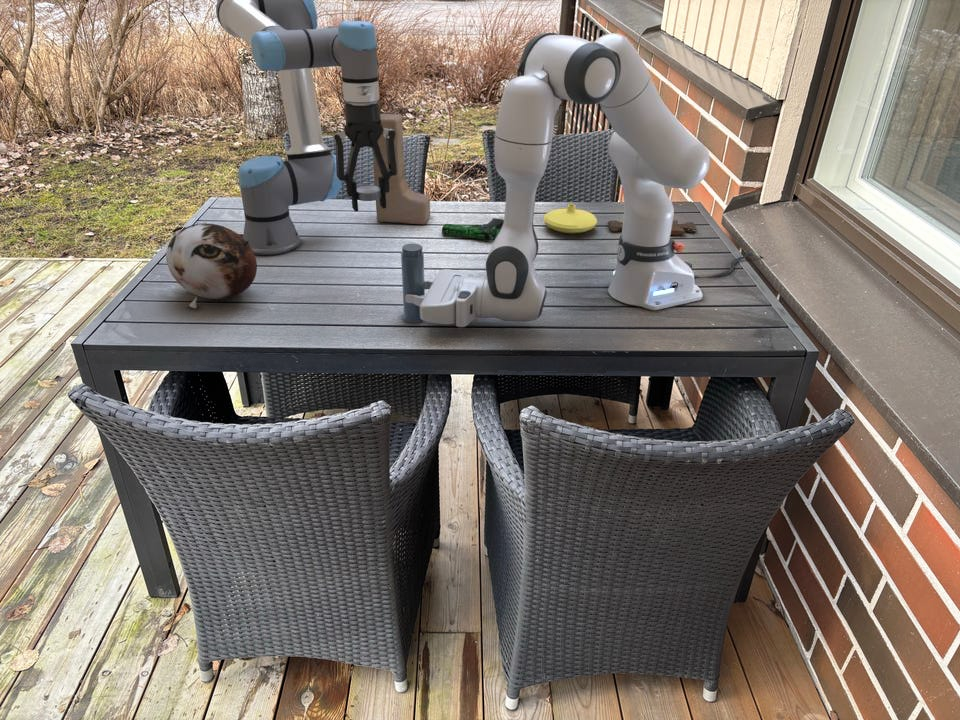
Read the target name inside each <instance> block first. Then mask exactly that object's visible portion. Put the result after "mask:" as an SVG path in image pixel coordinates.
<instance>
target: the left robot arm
mask: <svg viewBox="0 0 960 720" xmlns="http://www.w3.org/2000/svg"><path fill="white" fill-rule="evenodd" d="M215 14H216V18H217V22H218V23H219V25H220V27H221V28H222V29H223V30H224V31H225V32H226V33H228V34H229V35H230V36H232V37H234V38H237V39H241V40H242V41H244V43H246V44H247V45H248V46H250V48H251V54H252V58H253V61H254V63H255V65H256V68H257V69H259V70H260V71H262V72H275V73H276V72H277V74H278V81H279V86H280V91H281V97H282V103H283V107H284V108H283V109H284V113H285V120H286V125H287V131H288V136H289V142H290V147H289V149H288V150H287V152H286V157H287V160H283V158H282V157H281V156H279V155H262V156H258V157H253V158H250V159H248V160H245V161H244V162H243V163H241V165H240V166H239V167H238V170H237V174H238V186H239V190H240V196H241V201H242V208H243V212H244V213H243V215H244V219H245V220H244V226H243V228H244V229H243V233H242V234H239V235H240V236H241V237H243V238H244V239H245V240H246V241H249V242H248V244H249V245H250V247H251V248H252V250H253V252H254V254H255V256H256V255H257V256H275V255H281V254H282V255H283V254H285V253H289V252H291V251H293V250H296V249H297V248H298V247H299V246H300V244H301V241H300V235H299V233H298V231H297V229H296V225H295V224H294V223H293V220H292V218H291V216H290V206H296V205H303V204H309V203H315V202H324V201H326V200H333V199H334V198H336V197H337V196H339V194H340V192H341V189H342V183H343V182H345V191H346V195H347V197H351V207H352V209H353V211H354V212H355V213H356V212H359V202H358V201H359V200H358V199H357V188H358V187H357V181H355V180H354V175H355V171H356V167H357V161H358V157H359V154H360V151H361V149H363V148H371V150H372V154H373V153H374V156H375V158H376V161H377V164H378V166H379V169H380V172H381V175H382V177H378V179H379V187H380V188H381V192H382V197H381V198H380V205H381V207H382V208H386V194H385V193H388V192H389V190H390V189H389V179H390V177H391V176H393V175H394V176H395V175H396V174H397V169H396V159H395V149H394V138H395V134H396V133H395V131H394V130H393V129H391V128H389V129H386V128H383V126H382V124H381V115H380V114H381V105H380V103H379V102H378V101H379V100H380V86H379V84H380V83H379V67H378V65H379V64H378V40H377V35H376V27H375V25H374V23H373V22H371V21H366V20H365V21H364V20H348V21H347V20H344V21H341V22H340V23H338V25H336V26H333V25H332V26H326V27H324V28H318V12H317V8H316V4H315V1H314V0H217V1H216V4H215ZM331 67H332V68H333V67H340V70H341V71H340V72H341V81H342V94H343V95H342V96H343V100H344V101H345V103H344V104H343V108H344V118H345V119H344V120H345V125H344V128H343V130H342V131H339V132H332V135H331V136H332V139H333V141H334V145H335V154H334V153H332V151H331V147H329V146H328V145H327V144H325V142H324V138H323V132H322V125H321V120H320V114H319V107H318V101H317V95H316V87H315V83H314V77H313V70H312V69H318V68H331ZM382 133H383V134H384V137H385V138H386V148H387V157H388V167H389V170H387V168H386V165H385V163H384V160H383V157H382V154H381V152H380V148H379V145H378V140H379V138H380V137H381V135H382ZM346 137H347V138H348V139H349V141H350V142H351V143H350V150H349V155H348V160H347V165H346V170H345V158H344V157H345V155H344V144H343V143H345V138H346ZM183 227H184V228H186V227H187V226H178V227H176V228H174V229H173V230H172V231H171V233H172V234H173V233H175V234H176V233H177V232H179V231H180V230H181V229H182V228H183ZM184 228H183V229H184Z"/></svg>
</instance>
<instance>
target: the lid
mask: <svg viewBox="0 0 960 720" xmlns="http://www.w3.org/2000/svg"><path fill="white" fill-rule="evenodd" d="M381 197H382V192H381V188H380V187H377V186H375V185H362V186H361V185H360V186H358V187H357V200H358V201H360V202H374V201H376V200H378V199H380V198H381Z"/></svg>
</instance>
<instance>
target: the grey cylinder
mask: <svg viewBox="0 0 960 720" xmlns="http://www.w3.org/2000/svg"><path fill="white" fill-rule="evenodd" d="M423 247H424V246H422V245H421V244H419V243H406V244H404V245H402V246H401V253H400V262H401V287H402V306H403V319H404V321H406V322H408V323H420V322H424V321H423V320H422V319H421V318H420V307H419V306H417V305H415V304H413V303H407V302H406V301H405V296H406V295H407V293H415V295H417V296H420V297H421V295H422V296H426V290H425V282H424V281H425V253H424V252H423Z"/></svg>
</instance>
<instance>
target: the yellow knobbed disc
mask: <svg viewBox="0 0 960 720" xmlns="http://www.w3.org/2000/svg"><path fill="white" fill-rule="evenodd" d="M543 222H544V225H545V226H546V227H548V228H550V229H551V230H554V231H556V232H559V233H564V234H580V233H584V232H585V233H586V232H587V231H591V230H592V229H594V228H596V226H597V223H598V219H597V217H596V215H595V214H593V213H591V212H589V211H587V210H584V209H578V208H576V205H575V204H571V203H570V204H567V208H557V209H552V210H549V211H548V212H547V213H545V214H544V216H543Z"/></svg>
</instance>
